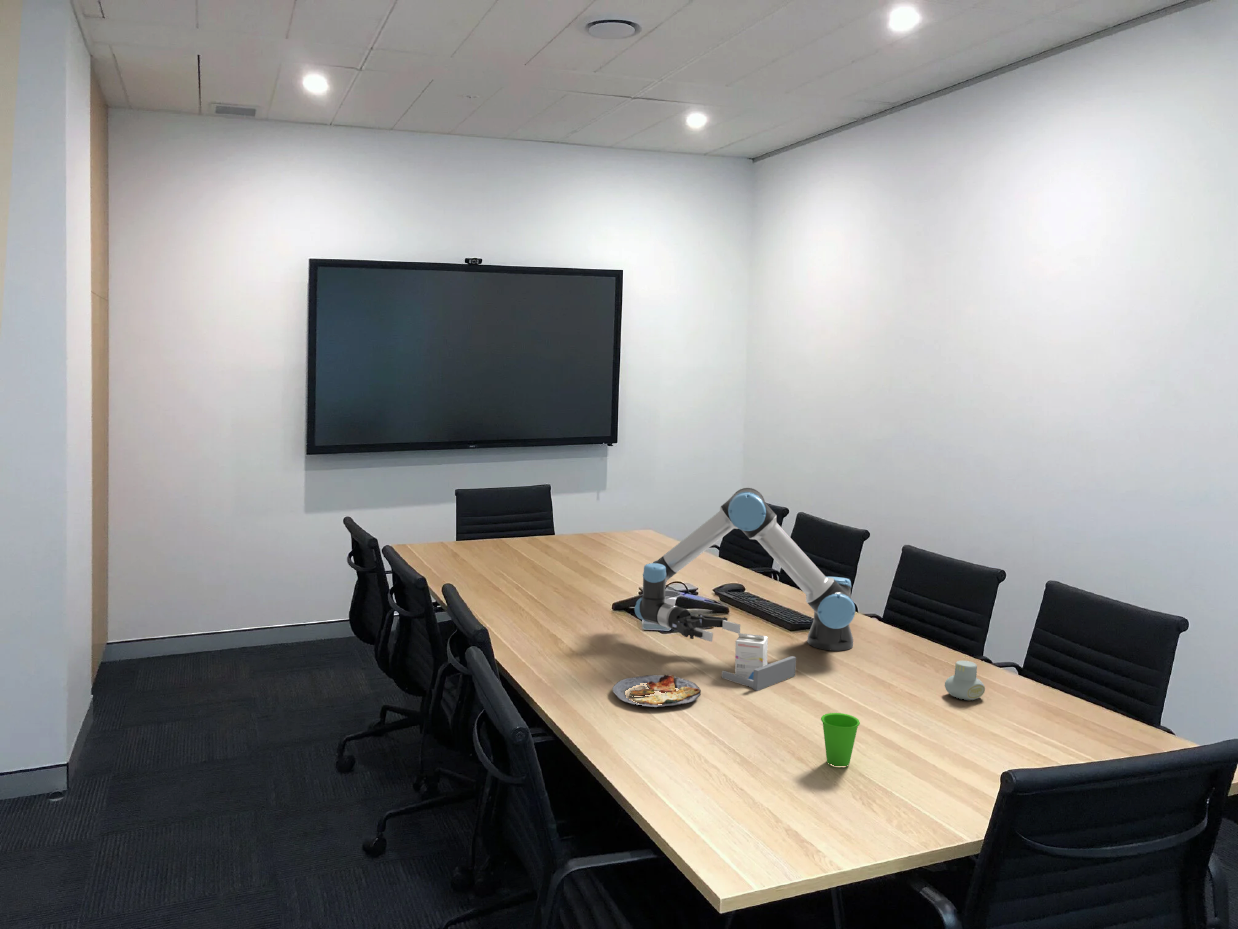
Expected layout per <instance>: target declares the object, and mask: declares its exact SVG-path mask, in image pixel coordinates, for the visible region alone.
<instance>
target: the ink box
mask: <svg viewBox="0 0 1238 929" xmlns="http://www.w3.org/2000/svg"><path fill="white" fill-rule="evenodd" d="M737 634H738V637H737V639H736V640H735V648H734V649H735V656H734V657H735V658H734V660H735V662H734V666H735V667H734V674H736V675H739V676H742V677H745V678H749V679H752V680H753V678H754V669H757V668H760V667H763V666H765V665H767V663H768V651H769V650H768V648H769V646H768V644H769V637H768V636H766V635H761V634H759V635H758V634H750V633H743V632H742V633H741V632H740V633H737Z"/></svg>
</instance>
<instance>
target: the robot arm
mask: <svg viewBox="0 0 1238 929" xmlns="http://www.w3.org/2000/svg"><path fill="white" fill-rule="evenodd" d="M734 529H736V530H738V529H739V530H741V531H742V532H743V533H744V534H745V536H746V537H747V538H748V539H749V540H756V541H757V542H758V543H759V544H760V545H761V546H762V548H763V549H764V550H765V551H766V552H767V553H768V555H769V556H771V557H772V558H773V560H774V561H775V562H776V563H777V564H778V566H780V567H781V569H782V570H784V572H785V573H786V575H788V576H789V577H790V578H791V580H792V581H793V582H794V583H795V584H796V586H797V587H799V589H800V590H801V591H802V592H803V593H804V594H805V602H806V603H807V604H808V606H809V607H810V608H811V609H812V610H813V621H812V624H811V626H810V629H809V631H808V634H807V645H809V646H811V647H813V648H816V649H819V650H823V651H836V652H837V651H838V652H840V651H849V650H850V649H852V648H853V647H854V637H853V634H852V630H851V627H850V624H851V623H852V622H853V620H854V618H855V615H856V605H855V602H854V601H853V597H852V596H851V594H852V593H851V590H852V582H851V579H850V578H847V577H838V576H826V575H825V574H824V573H823V572H822V571H821V570H820V569H819V568H818V566H816V564H815V563H814V562H813V561H812V560H811V559H810V557H809V556H807V554H806V553H805V552H804V551H803V550H802V549H801V548H800V546H798V544H797V543H796V541H794V540H793V539H792V538H791V536H789V535H788V533H787V532H786V531H785V530H784V529H783V528H782V527H781V525H779V523H778V522H777V514H776V513H775V511H774V510H772V508H771V507H770V506H769V505H768V504H767V503H766V501H765V498H764V496H763V495H762V493H761V492H760V491H758V490H757V489H755V488H752V487H743V488H740V489H738V490H737V491H736V492H735V493H734V494H732V496H731V497H730V498H729V499H728V500H726V501H725V502H724V503H723V504H722V505H721V506H720V507H719V511H718V512H716V513H715V514H714V515H713V516H712V517H710V518H709V519H708V520H706V521H705V522H704V523H702V524H701V525H700V526H698V528H696V529H695V530H694V531H693V532H691V533H689V535H687V537H685V538H684V539H682V540H681V541H680V542H678V543H677V544H676V545H675V546H674V547H672V548H671V549H670V550H668V551H667V552H666V553H665V554H663V555H662V556H661V557H660V558H659V559H656V560H654V561H653V562H651V563H647V564H644V567H643V573H642V597H640V598H639V599H637V601H636V602H635V606H634V613H635V615H636V616H637V618H638V619H640V620H642V621H644V622H646V623H651V624H654V625H658V626H661V627H664V628H666V629H667V630H669V629H672V630H673V631H676V632H678V633H679V634H681V636H683V637H685V638H689V640H693V639H694V638H698V639H701V640H704V641H708V642H710V643H712V642H713V636H714V633H713V632H712V631H709V630H705V629H704V627H705V628H707V627H708V628H722V630H725V631H729V632H732V633H735V634H738V633H741V624H738V623H736V622H732V621H730V620H729V621H728V618H727V617H725V616H723V617H721V616H715V615H713V616H712V615H706V614H705V615H704V614H701V613H698V614H697V615H694V614H691V613H690V611H689V610H688V609H687V608H684V607H680V606H678V605H674V604H670V603H666V602H665V600H666V584H667V582H668V581H669V580H670V579H671V578H672V577H674V576H675V575H676V574H677V573H679V572H680V571H681V570H683V569H684V568H685V567H686V566H687V565H689V564H690V563H691V562H693V561H694V560H695V559H696V558H698V557H699V556H700V555H701V554H703V553H704V552H705V551H707V550H708V549H709V548H711V547H712V546H713V545H715V544H716V543H717V542H719V541H720V540H721V539H722V538H723V537H725V536H726V535H727V534H729V533H730V532H731V531H733V530H734Z"/></svg>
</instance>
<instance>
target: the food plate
mask: <svg viewBox="0 0 1238 929" xmlns="http://www.w3.org/2000/svg"><path fill="white" fill-rule="evenodd" d="M640 683H647V684H646V685H647V687H648V688H649V689H645V688H642V689H641V688H640V689H634V690H630V692H631V693H630V692H629V694H631V696H633V697H634V696H645V695H650V694H654V693H655V692H654V691H659V692H661V693H665V692H666V693H665V694H661V695H654V696H650V697H648V696H647V697H641V698H632V700H633V701H635V702H633V701H632V700H631V699H630V697H628V698H626V695H625V691H626V690H628V689H629V688H632V687H633V686H636V685H640ZM643 685H644V684H643ZM675 688H678V689H679V690H678V691H676V689H675ZM701 692H702V691H701V688H700V687H699V686H698V685H697V684H696V683H695V682H693V681H691V680H689V679H685V678H682V677H679V676H675V675H674V674H672V675H669V674H664V675H659V674H658V675H656V674H652V675H651V674H650V675H642V676H633V677H627V678H624V679H620V680H619V681H617V682H616V683H615V684H614V686H613V687H612V693H613V694H615V696H616V697H617V698H618V699H619V700H621V701H623V702H625V703H629V704H631V705H635V704H636V705H635V706H638V705H642V706H641V707H652V708H653V707H654V708H657V707H665V706H666V707H667V706H677V705H681V704H682V705H683V704H688V703H693V702H695V701H696V700H697V699H698V698H700V697H701ZM629 699H630V700H629ZM654 701H656V702H654ZM636 702H637V703H636ZM638 703H639V704H638ZM658 704H662V705H658Z"/></svg>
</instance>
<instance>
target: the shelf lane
mask: <svg viewBox="0 0 1238 929" xmlns="http://www.w3.org/2000/svg"><path fill="white" fill-rule="evenodd" d="M796 664H797V657H796V656H793V655H791V656H788V657H785V658H782V659H780V660H777V661H774V662H771V663H769V662H767V665H765V666H763V667H760V668H757V669H754V678H753V680H752V679H749V678H745V677H742V676H739V675H736V674H735V673H732V672H730V671H726V670H722V671H721V678H722V679H723V680H728V681H729V682H732V683H733V682H734V683H735V684H739V683H740V685H743V686H745V685H746V687H748V686H749V688H752V690H753V691H756V692H758V691H761V690H763V689H766V688H768V686H769V687H771V686H773V685H776V684H779V683H782V682H783V680H784V681H787V680H788V679H787V678H789V679H791V678H790V677H792V678H794V676H795V677H796ZM786 679H787V680H786ZM781 681H782V682H781ZM778 682H779V683H778ZM775 683H776V684H775Z"/></svg>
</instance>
